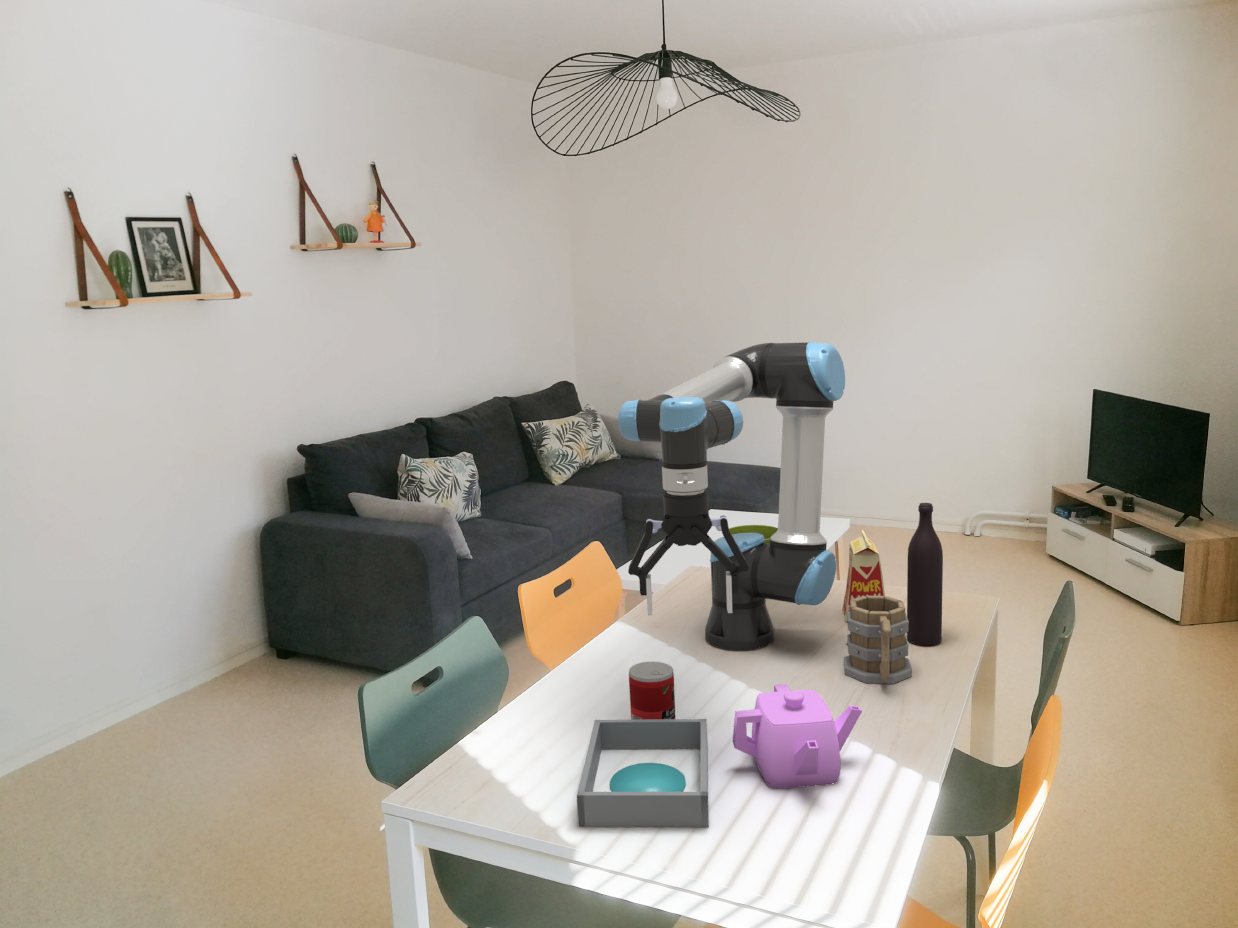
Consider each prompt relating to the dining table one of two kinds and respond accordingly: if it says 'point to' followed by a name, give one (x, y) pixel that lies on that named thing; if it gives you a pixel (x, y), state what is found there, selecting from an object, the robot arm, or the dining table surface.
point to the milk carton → (863, 572)
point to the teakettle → (794, 737)
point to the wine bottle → (925, 582)
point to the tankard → (877, 640)
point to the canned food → (652, 691)
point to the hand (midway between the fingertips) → (689, 611)
